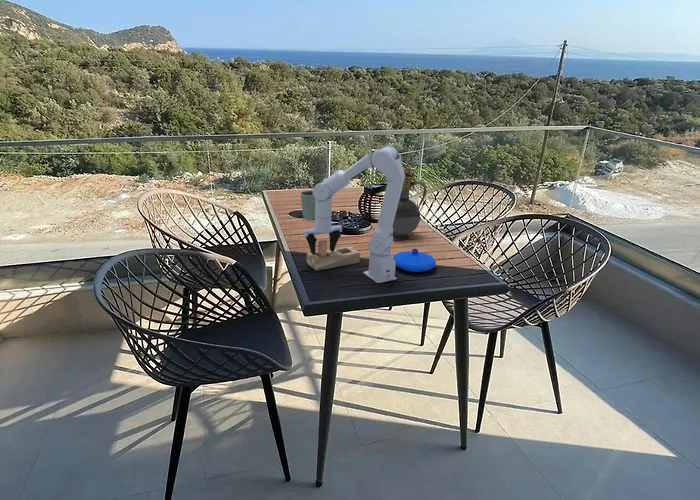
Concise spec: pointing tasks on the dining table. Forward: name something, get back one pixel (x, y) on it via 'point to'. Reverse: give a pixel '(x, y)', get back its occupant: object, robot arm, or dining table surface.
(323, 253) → the peg
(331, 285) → the dining table surface
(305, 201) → the green cup
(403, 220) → the pitcher
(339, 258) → the hole block
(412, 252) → the blue round knobbed lid
